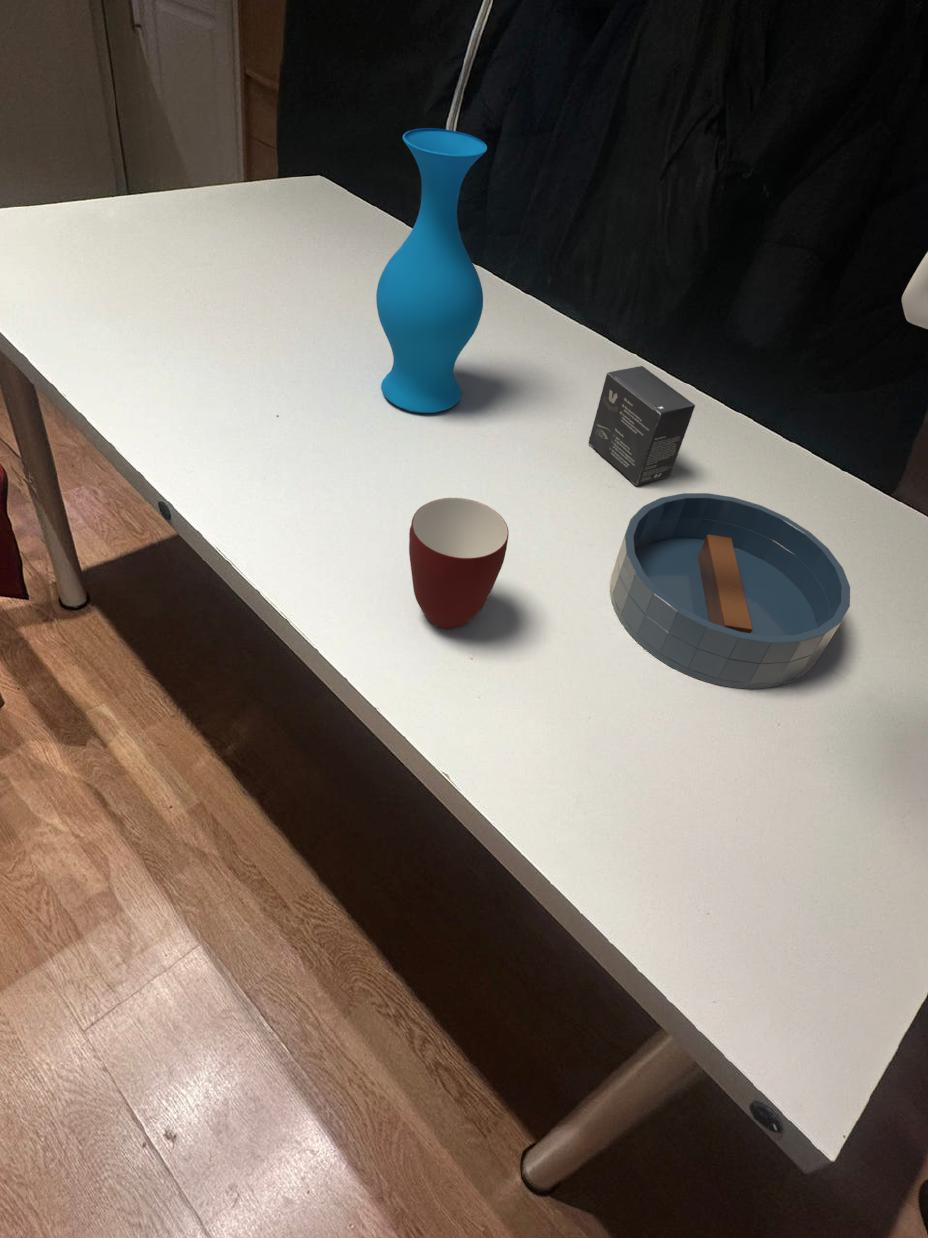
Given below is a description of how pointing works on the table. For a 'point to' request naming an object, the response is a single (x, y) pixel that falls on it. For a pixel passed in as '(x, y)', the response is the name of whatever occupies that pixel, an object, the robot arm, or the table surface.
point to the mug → (455, 558)
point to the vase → (431, 280)
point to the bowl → (772, 582)
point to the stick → (723, 584)
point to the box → (640, 424)
